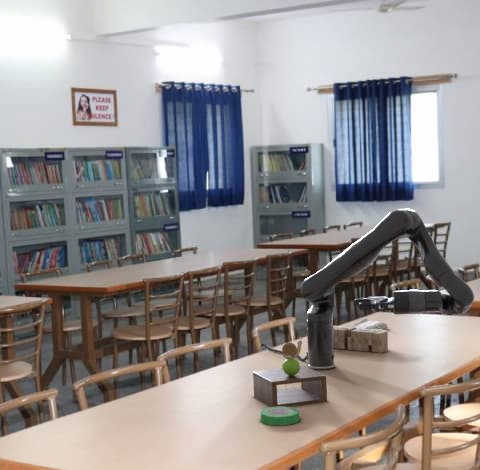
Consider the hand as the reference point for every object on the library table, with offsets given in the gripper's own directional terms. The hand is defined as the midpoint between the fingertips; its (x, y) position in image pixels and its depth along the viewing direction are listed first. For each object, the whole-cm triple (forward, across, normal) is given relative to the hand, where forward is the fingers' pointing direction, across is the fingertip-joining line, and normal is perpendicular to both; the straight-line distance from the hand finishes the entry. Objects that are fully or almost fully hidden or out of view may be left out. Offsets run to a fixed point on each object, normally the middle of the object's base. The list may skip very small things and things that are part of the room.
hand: (357, 304), depth 298 cm
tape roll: (+28, +31, +28) cm, 50 cm away
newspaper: (-15, -98, +28) cm, 103 cm away
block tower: (-8, -68, +28) cm, 74 cm away
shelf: (+23, +7, +28) cm, 37 cm away
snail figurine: (+22, +10, +20) cm, 31 cm away
